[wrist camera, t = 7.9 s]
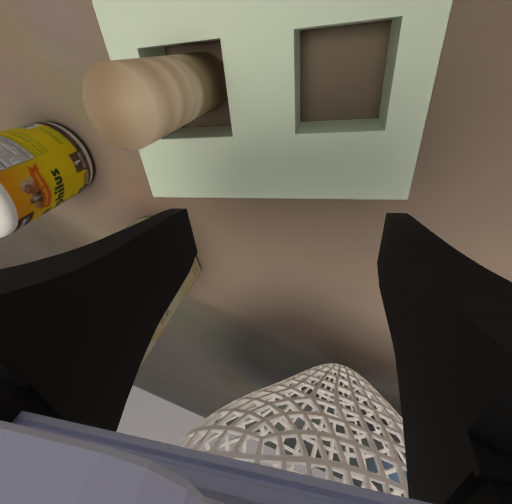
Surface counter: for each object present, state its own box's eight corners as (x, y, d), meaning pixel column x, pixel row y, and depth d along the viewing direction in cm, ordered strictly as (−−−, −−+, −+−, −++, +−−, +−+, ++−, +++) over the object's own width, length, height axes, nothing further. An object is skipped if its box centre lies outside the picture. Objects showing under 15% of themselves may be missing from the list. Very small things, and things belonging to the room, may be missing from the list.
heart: (517, 392, 28) (834, 1011, 10) (402, 440, 37) (462, 802, 19) (252, 261, 25) (63, 758, 8) (202, 348, 35) (65, 661, 17)
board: (454, -103, 12) (483, -139, 10) (398, 179, 19) (407, 199, 16) (115, -35, 16) (76, -49, 13) (172, 180, 22) (153, 196, 20)
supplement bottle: (88, 201, 25) (-26, 276, 17) (28, 161, 24) (-124, 222, 16) (104, 151, 22) (-27, 214, 14) (36, 102, 21) (-149, 141, 13)
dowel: (229, 53, 17) (150, 63, 10) (230, 110, 19) (164, 154, 11) (180, 50, 17) (70, 58, 10) (185, 106, 19) (95, 146, 12)
